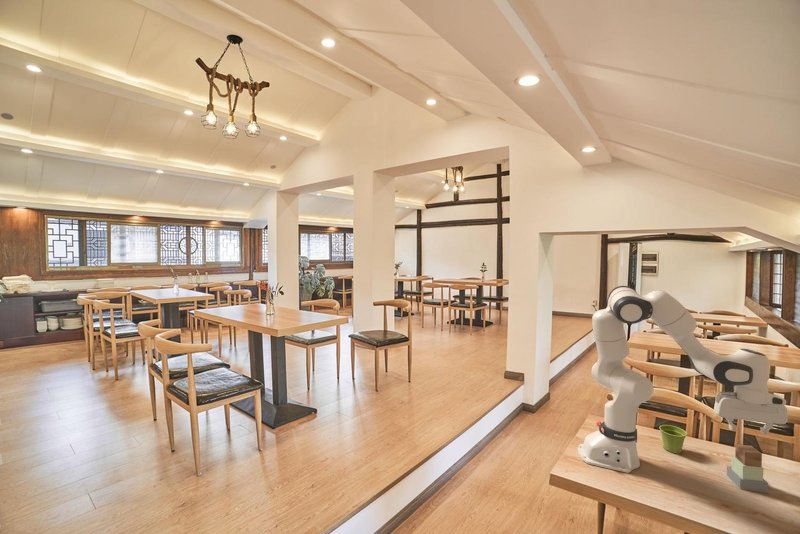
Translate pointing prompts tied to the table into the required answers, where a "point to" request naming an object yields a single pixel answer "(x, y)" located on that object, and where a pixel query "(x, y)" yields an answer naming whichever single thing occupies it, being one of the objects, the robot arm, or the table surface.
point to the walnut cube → (748, 455)
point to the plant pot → (672, 438)
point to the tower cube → (747, 470)
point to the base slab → (747, 482)
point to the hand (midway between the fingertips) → (748, 431)
